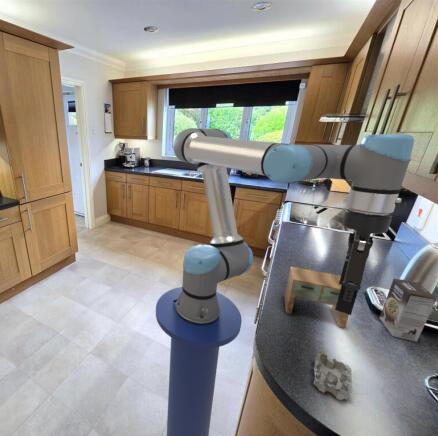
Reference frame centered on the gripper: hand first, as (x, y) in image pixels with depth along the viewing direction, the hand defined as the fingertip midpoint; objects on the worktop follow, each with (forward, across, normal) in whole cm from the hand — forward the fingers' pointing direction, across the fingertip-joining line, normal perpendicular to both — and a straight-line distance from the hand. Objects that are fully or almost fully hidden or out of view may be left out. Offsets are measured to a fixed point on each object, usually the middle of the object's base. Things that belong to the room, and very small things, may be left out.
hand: (344, 297), depth 57 cm
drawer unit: (+23, +27, +6) cm, 36 cm away
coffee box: (+24, +35, -17) cm, 45 cm away
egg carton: (+24, -1, -2) cm, 24 cm away
